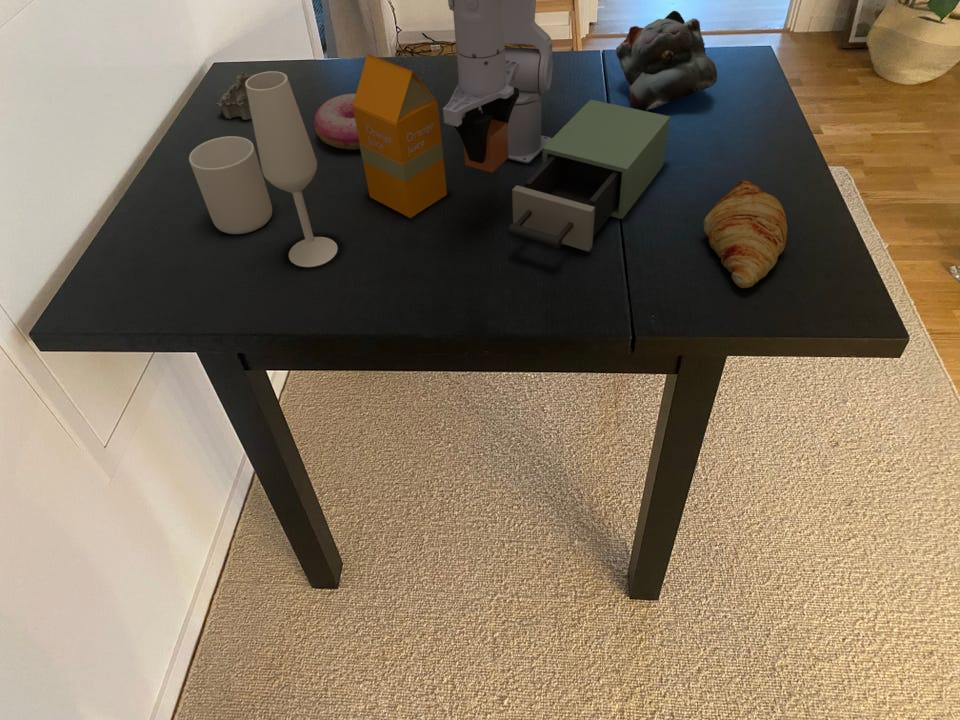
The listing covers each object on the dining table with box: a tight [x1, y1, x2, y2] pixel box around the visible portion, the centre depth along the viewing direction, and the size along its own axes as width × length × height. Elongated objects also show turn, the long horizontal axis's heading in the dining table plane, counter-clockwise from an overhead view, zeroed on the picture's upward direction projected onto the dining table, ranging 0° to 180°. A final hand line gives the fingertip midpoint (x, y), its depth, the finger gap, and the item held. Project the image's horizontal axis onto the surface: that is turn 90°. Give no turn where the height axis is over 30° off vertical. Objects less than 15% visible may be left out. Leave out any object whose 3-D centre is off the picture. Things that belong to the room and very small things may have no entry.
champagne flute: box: [245, 70, 339, 268], centre depth 91 cm, size 7×7×24 cm
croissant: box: [702, 179, 788, 289], centre depth 93 cm, size 21×10×8 cm, turn 167°
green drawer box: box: [542, 99, 671, 220], centre depth 105 cm, size 15×12×8 cm
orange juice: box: [352, 53, 448, 219], centre depth 100 cm, size 8×9×20 cm
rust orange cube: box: [463, 119, 509, 174], centre depth 95 cm, size 4×4×5 cm
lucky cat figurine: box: [615, 10, 718, 112], centre depth 121 cm, size 15×12×14 cm
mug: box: [188, 135, 273, 235], centre depth 103 cm, size 9×12×11 cm
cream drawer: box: [507, 155, 622, 252], centre depth 97 cm, size 19×11×6 cm, turn 149°
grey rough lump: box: [215, 70, 253, 121], centre depth 129 cm, size 11×8×4 cm
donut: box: [313, 92, 360, 151], centre depth 119 cm, size 14×13×5 cm
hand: (486, 152), depth 96 cm, fingers closed on rust orange cube, 4 cm apart
